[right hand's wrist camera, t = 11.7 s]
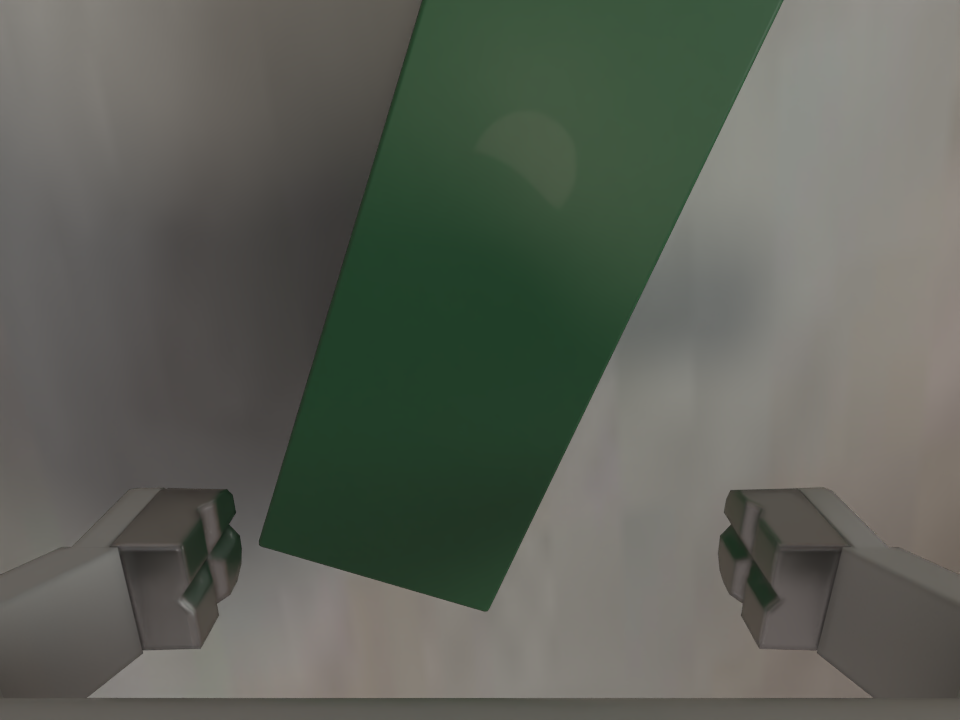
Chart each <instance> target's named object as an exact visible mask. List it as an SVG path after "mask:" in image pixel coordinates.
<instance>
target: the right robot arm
mask: <svg viewBox="0 0 960 720" xmlns="http://www.w3.org/2000/svg"><path fill="white" fill-rule="evenodd" d="M235 513H236V510H235V505H234V500H233V495H232V494H231V493H230V492H229V491H228V490H227V489H194V488H135V489H130V490H129V491H128V492H127V493H126V494H124V495H123V496H122V497H121V498H120V499H119V500H118V501H117V502H116V503H115V504H114V505H113V506H112V507H111V508H110V509H109V510H108V511H107V512H106V513H105V514H104V515H103V516H102V517H101V518H100V519H99V520H98V521H97V522H96V523H95V524H94V525H93V526H92V527H91V528H90V529H89V530H88V531H87V532H86V533H85V534H84V535H83V536H82V537H81V538H80V539H79V540H78V541H77V542H76V543H75V544H74V545H73V546H72V547H61V548H59V549H56V550H54V551H52V552H50V553H47V554H45V555H43V556H41V557H39V558H36V559H34V560H32V561H30V562H27V563H25V564H23V565H21V566H19V567H16V568H14V569H12V570H10V571H7V572H5V573H3V574H1V575H0V720H960V575H959V574H957V573H955V572H952V571H950V570H948V569H946V568H944V567H941V566H939V565H937V564H935V563H932V562H930V561H928V560H926V559H924V558H921V557H919V556H917V555H915V554H913V553H910V552H908V551H906V550H904V549H901V548H899V547H888V546H887V545H886V544H885V543H884V542H883V541H882V540H881V539H880V538H879V537H878V536H877V535H876V534H875V533H874V532H873V531H872V530H871V529H870V528H869V527H868V526H867V525H866V524H865V523H864V522H863V521H862V520H861V519H860V518H859V517H858V516H857V515H856V514H855V513H854V512H853V511H852V510H851V509H850V508H849V507H848V506H847V505H846V504H845V503H844V502H843V501H842V500H841V499H840V498H839V497H838V496H837V495H836V494H835V493H834V492H833V491H832V490H829V489H826V488H824V487H818V488H793V489H756V490H730V492H729V494H728V496H727V499H726V504H725V509H724V513H725V515H726V517H727V518H728V520H729V521H730V523H731V525H730V526H729V527H728V528H727V529H726V530H725V531H724V532H723V533H722V534H721V535H720V542H719V550H718V558H719V568H720V573H721V576H722V579H723V583H724V585H725V587H726V589H727V590H728V592H729V594H730V595H731V596H733V597H734V598H736V599H737V600H739V601H740V602H742V603H743V607H742V612H741V616H742V618H743V620H744V622H745V624H746V625H747V627H748V629H749V631H750V633H751V634H752V636H753V638H754V640H755V642H756V643H757V645H758V647H759V649H789V650H817V653H818V654H819V655H820V656H821V657H823V658H824V659H825V660H827V661H828V662H829V663H830V664H832V665H833V666H834V667H835V668H837V669H838V670H839V671H840V672H842V673H843V674H844V675H845V676H847V677H848V678H849V679H850V680H852V681H853V682H854V683H856V684H857V685H858V686H859V687H861V688H862V689H863V690H864V691H866V692H867V693H868V694H869V695H871V696H872V697H873V698H87V697H88V696H90V695H91V694H92V693H93V692H95V691H96V690H97V689H98V688H100V687H101V686H102V685H103V684H105V683H106V682H107V681H108V680H110V679H111V678H112V677H114V676H115V675H116V674H117V673H119V672H120V671H121V670H122V669H124V668H125V667H126V666H127V665H129V664H130V663H131V662H132V661H134V660H135V659H136V658H138V657H139V656H140V655H141V654H143V651H142V650H170V649H201V647H202V645H203V644H204V642H205V640H206V638H207V636H208V635H209V633H210V631H211V629H212V627H213V625H214V624H215V622H216V620H217V618H218V616H219V612H218V607H217V603H219V602H220V601H221V600H223V599H224V598H226V597H227V596H229V595H230V594H231V592H232V590H233V588H234V586H235V585H236V583H237V580H238V576H239V572H240V567H241V559H242V547H241V541H240V535H239V534H238V533H237V532H236V531H235V530H234V529H233V528H232V527H231V526H230V525H229V523H230V521H231V520H232V518H233V517H234V515H235Z"/></svg>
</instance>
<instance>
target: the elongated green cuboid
mask: <svg viewBox="0 0 960 720" xmlns="http://www.w3.org/2000/svg"><path fill="white" fill-rule="evenodd" d="M782 2H783V0H422V3H421V6H420V9H419V13H418V16H417V19H416V23H415V26H414V29H413V33H412V36H411V39H410V43H409V46H408V49H407V52H406V56H405V59H404V62H403V66H402V69H401V72H400V76H399V79H398V82H397V86H396V89H395V92H394V95H393V99H392V102H391V105H390V109H389V112H388V115H387V119H386V122H385V125H384V129H383V132H382V135H381V139H380V142H379V145H378V148H377V152H376V155H375V158H374V162H373V165H372V168H371V172H370V175H369V178H368V182H367V185H366V188H365V191H364V195H363V198H362V201H361V205H360V208H359V211H358V215H357V218H356V221H355V225H354V228H353V231H352V235H351V238H350V241H349V244H348V248H347V251H346V254H345V258H344V261H343V264H342V268H341V271H340V274H339V278H338V281H337V284H336V287H335V291H334V294H333V297H332V301H331V304H330V307H329V311H328V314H327V317H326V321H325V324H324V327H323V331H322V334H321V337H320V340H319V344H318V347H317V350H316V354H315V357H314V360H313V364H312V367H311V370H310V374H309V377H308V380H307V383H306V387H305V390H304V393H303V397H302V400H301V403H300V407H299V410H298V413H297V417H296V420H295V423H294V427H293V430H292V433H291V436H290V440H289V443H288V446H287V450H286V453H285V456H284V460H283V463H282V466H281V470H280V473H279V476H278V479H277V483H276V486H275V489H274V493H273V496H272V499H271V503H270V506H269V509H268V513H267V516H266V519H265V522H264V526H263V529H262V532H261V536H260V539H259V545H260V546H262V547H265V548H268V549H272V550H275V551H279V552H282V553H286V554H289V555H292V556H296V557H299V558H303V559H306V560H310V561H313V562H316V563H320V564H323V565H327V566H330V567H334V568H337V569H340V570H344V571H347V572H351V573H354V574H358V575H361V576H364V577H368V578H371V579H375V580H378V581H382V582H385V583H388V584H392V585H395V586H399V587H402V588H406V589H409V590H412V591H416V592H419V593H423V594H426V595H430V596H433V597H437V598H440V599H443V600H447V601H450V602H454V603H457V604H461V605H464V606H467V607H471V608H474V609H478V610H481V611H488V610H489V608H490V606H491V604H492V602H493V600H494V598H495V596H496V594H497V592H498V590H499V588H500V585H501V583H502V581H503V579H504V577H505V575H506V573H507V571H508V569H509V567H510V565H511V563H512V561H513V559H514V557H515V554H516V552H517V550H518V548H519V546H520V544H521V542H522V540H523V538H524V536H525V534H526V532H527V530H528V528H529V525H530V523H531V521H532V519H533V517H534V515H535V513H536V511H537V509H538V507H539V505H540V503H541V501H542V499H543V497H544V494H545V492H546V490H547V488H548V486H549V484H550V482H551V480H552V478H553V476H554V474H555V472H556V470H557V468H558V466H559V463H560V461H561V459H562V457H563V455H564V453H565V451H566V449H567V447H568V445H569V443H570V441H571V439H572V437H573V435H574V432H575V430H576V428H577V426H578V424H579V422H580V420H581V418H582V416H583V414H584V412H585V410H586V408H587V406H588V403H589V401H590V399H591V397H592V395H593V393H594V391H595V389H596V387H597V385H598V383H599V381H600V379H601V377H602V375H603V372H604V370H605V368H606V366H607V364H608V362H609V360H610V358H611V356H612V354H613V352H614V350H615V348H616V346H617V344H618V341H619V339H620V337H621V335H622V333H623V331H624V329H625V327H626V325H627V323H628V321H629V319H630V317H631V315H632V313H633V310H634V308H635V306H636V304H637V302H638V300H639V298H640V296H641V294H642V292H643V290H644V288H645V286H646V284H647V281H648V279H649V277H650V275H651V273H652V271H653V269H654V267H655V265H656V263H657V261H658V259H659V257H660V255H661V253H662V250H663V248H664V246H665V244H666V242H667V240H668V238H669V236H670V234H671V232H672V230H673V228H674V226H675V224H676V222H677V219H678V217H679V215H680V213H681V211H682V209H683V207H684V205H685V203H686V201H687V199H688V197H689V195H690V193H691V190H692V188H693V186H694V184H695V182H696V180H697V178H698V176H699V174H700V172H701V170H702V168H703V166H704V164H705V162H706V159H707V157H708V155H709V153H710V151H711V149H712V147H713V145H714V143H715V141H716V139H717V137H718V135H719V133H720V131H721V128H722V126H723V124H724V122H725V120H726V118H727V116H728V114H729V112H730V110H731V108H732V106H733V104H734V102H735V100H736V97H737V95H738V93H739V91H740V89H741V87H742V85H743V83H744V81H745V79H746V77H747V75H748V73H749V71H750V68H751V66H752V64H753V62H754V60H755V58H756V56H757V54H758V52H759V50H760V48H761V46H762V44H763V42H764V40H765V37H766V35H767V33H768V31H769V29H770V27H771V25H772V23H773V21H774V19H775V17H776V15H777V13H778V11H779V9H780V6H781V4H782Z"/></svg>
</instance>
